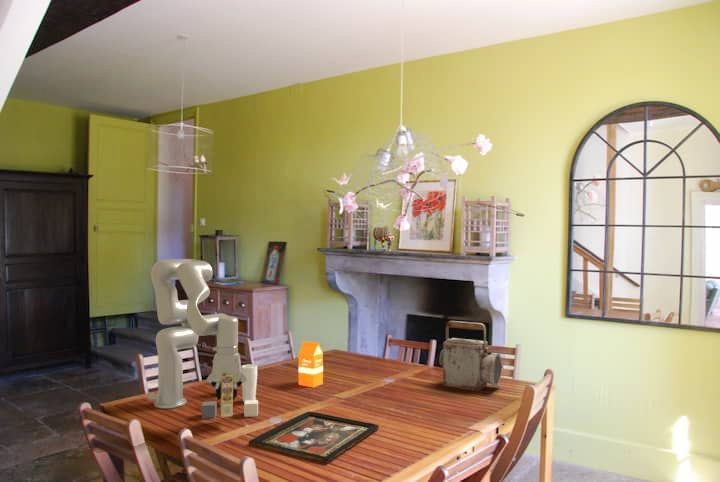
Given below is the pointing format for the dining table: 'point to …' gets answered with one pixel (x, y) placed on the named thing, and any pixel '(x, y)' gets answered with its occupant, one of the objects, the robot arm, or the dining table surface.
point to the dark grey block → (209, 409)
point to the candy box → (226, 395)
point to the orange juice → (310, 364)
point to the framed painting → (314, 436)
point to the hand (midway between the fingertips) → (226, 398)
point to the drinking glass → (249, 382)
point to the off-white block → (250, 408)
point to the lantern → (469, 360)
